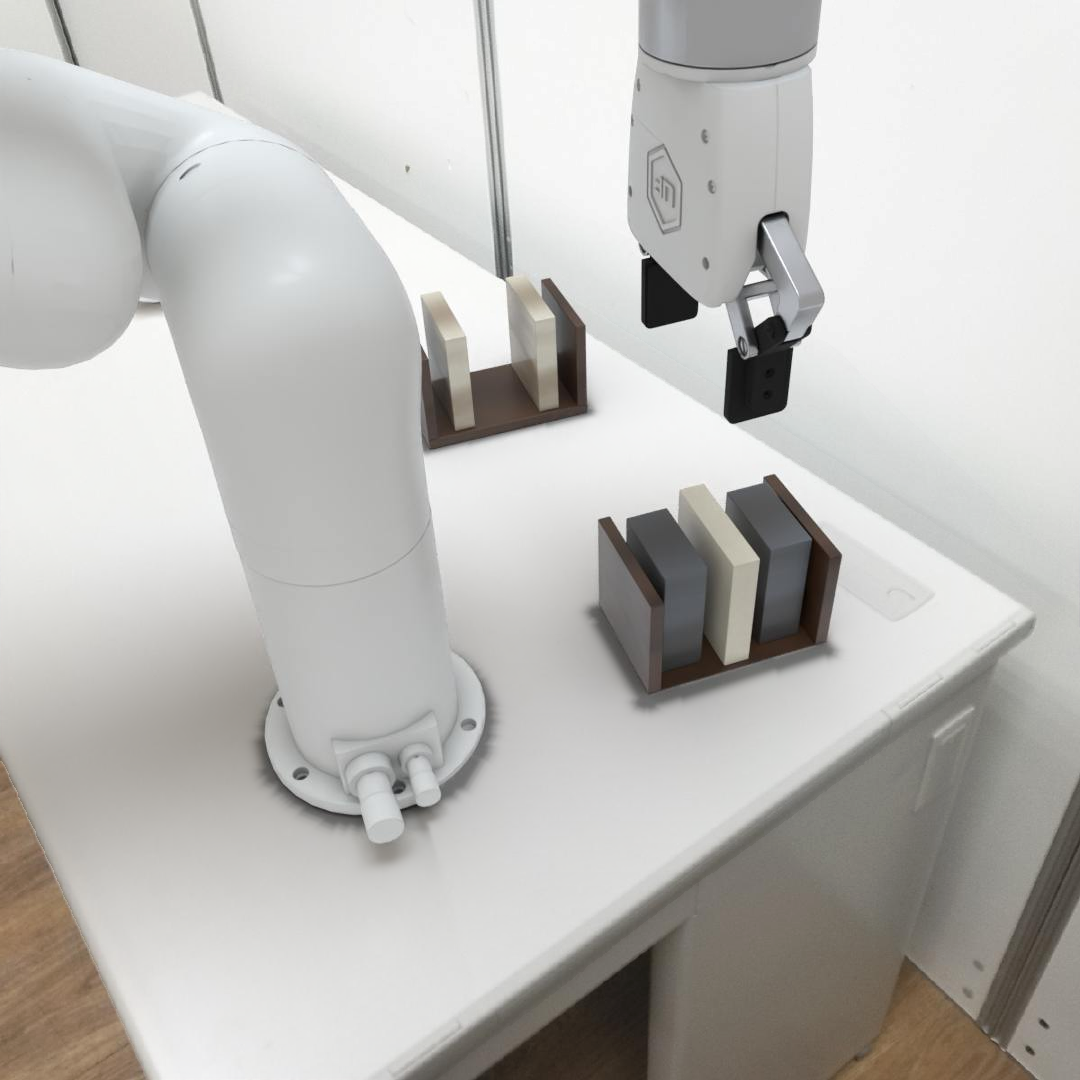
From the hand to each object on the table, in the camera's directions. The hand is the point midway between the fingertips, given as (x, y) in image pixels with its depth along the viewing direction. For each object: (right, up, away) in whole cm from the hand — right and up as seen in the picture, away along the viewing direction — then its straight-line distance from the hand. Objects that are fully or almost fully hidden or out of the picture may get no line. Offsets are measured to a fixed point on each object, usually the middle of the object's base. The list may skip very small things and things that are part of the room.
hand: (709, 365), depth 58 cm
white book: (+2, -14, +11) cm, 18 cm away
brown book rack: (-12, +2, +31) cm, 33 cm away
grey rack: (+2, -15, +11) cm, 19 cm away
